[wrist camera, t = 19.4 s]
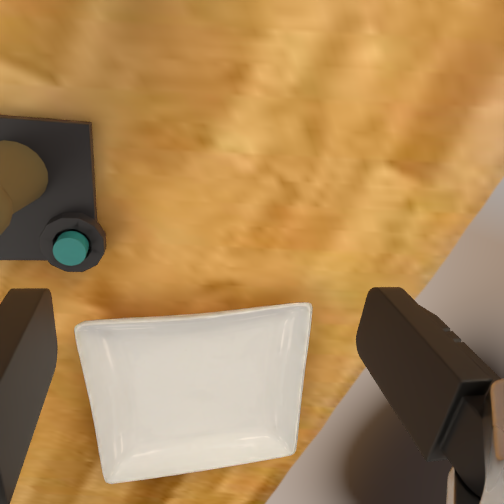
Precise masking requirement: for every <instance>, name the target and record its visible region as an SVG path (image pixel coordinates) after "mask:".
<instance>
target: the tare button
mask: <svg viewBox="0 0 504 504" xmlns="http://www.w3.org/2000/svg"><path fill="white" fill-rule="evenodd" d="M88 249H89V242H88V240H87V238H86V237H85V236H84V235H83V234H81V233H79V232H77V231H66V232H64V233H62V234H61V235H60V236H59V237H58V239H57V240H56V242H55V244H54V246H53V255H54V257H55V258H56V260H57V261H59V262H60V263H62V264H64V265H68V266H73V265H77V264H80V263H81V262H82V261H83V260H84V259H85V257H86V255H87V252H88Z"/></svg>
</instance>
